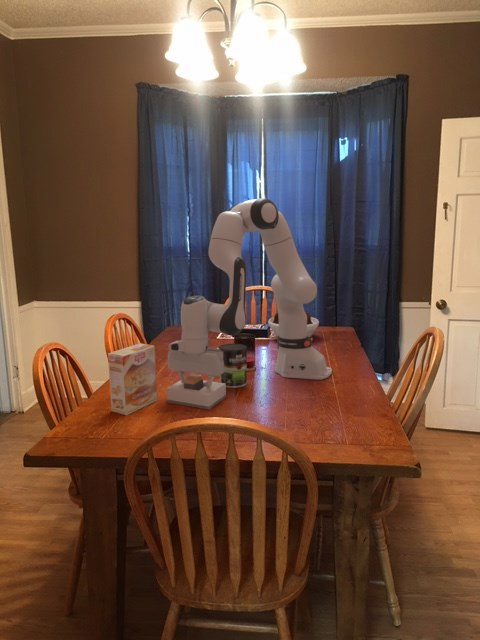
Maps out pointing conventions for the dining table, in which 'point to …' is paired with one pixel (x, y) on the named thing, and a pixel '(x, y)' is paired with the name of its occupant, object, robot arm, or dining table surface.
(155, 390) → the coffeecake box
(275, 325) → the white round bowl
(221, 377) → the coffee can
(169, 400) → the socket
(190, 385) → the plug
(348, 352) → the dining table surface
